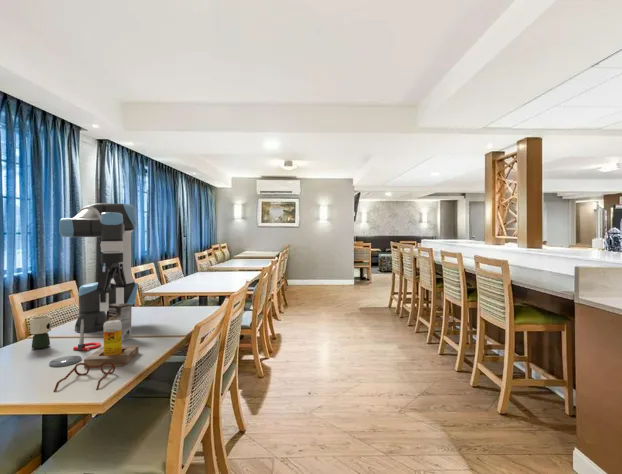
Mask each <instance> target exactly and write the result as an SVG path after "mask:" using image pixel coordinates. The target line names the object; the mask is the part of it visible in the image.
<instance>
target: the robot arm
mask: <svg viewBox="0 0 622 474" xmlns="http://www.w3.org/2000/svg"><path fill="white" fill-rule="evenodd" d="M135 227H138V221H137V214H136V208H135V206H134V204H130V203H129V204H128V203H107V202H106V203H104V202H98V203H93V204H88V205H86V206H83V207H82V208H80V209H79V210H78V211H77V214H76V215H75V216H74V217H72V218H71V217H67V218H66V217H65V218H64V217H63V218H61V219H60V220H59V223H58V232H59V235H60V236H61V237H62V238H69V239H70V238H71V239H72V238H100V244H99V246H100V252H101V254H100V262H101V264H104V265H103V266H100V268H99V269H100V270H99V271H100V272H99V277H98V281H97V282H91V283H86V284H83V285H81V286H80V287H79V288H78V295H77V296H78V316H77V319H76V322H75V324H74V332H76V333H80V328H81V320H82V319H83V320H84V322H83V324H84V333H91V332H97V331H102V330H103V331H104V323H105V322H106V321H107V311H109V304H113V303H116V304H124V303H125V304H132V305H134V304H135V303H136V300H137V293H138V282H136V280H135V278H133V277H132V232H134V230H135Z"/></svg>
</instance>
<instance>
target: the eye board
mask: <svg viewBox="0 0 622 474" xmlns="http://www.w3.org/2000/svg"><path fill="white" fill-rule="evenodd" d="M139 351H140V349H139V345H122V353H121V354H120V355H111V356H104V346H102V347H101V346H100V348H98V349H97V350H96V351H94V352H93V353H91V354H90V355H88V356H87V357H86V358H84V359H83V363H85V364H87V365H89V366H91V365H100V366H101V364H103V363H104V362H112V363H113V364H114V365H115V367H125V366H126V365H127V364H128V363H130V362H131V361H132V360H133V359H134V358H135V357H136V356H137V355H138V354H139ZM108 367H109V368H111V367H112V365H111V364H104V365H103V367H102V368H108ZM83 368H84V369H87V367H86V366H85V365H83Z"/></svg>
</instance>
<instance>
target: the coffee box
mask: <svg viewBox="0 0 622 474" xmlns="http://www.w3.org/2000/svg"><path fill="white" fill-rule="evenodd" d="M132 305H133V304H125V303H124V304H116V303H113V304H109V311H106V315H107V321H109V320H120V321H121V323H122V342H123V341H127V340H129V339H132Z"/></svg>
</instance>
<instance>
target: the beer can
mask: <svg viewBox="0 0 622 474" xmlns="http://www.w3.org/2000/svg"><path fill="white" fill-rule="evenodd" d="M122 342H123V341H122V323H121V321H120V320H109V321H106V322H105V323H104V329H103V347H104V356H111V355H120V354H121V353H122V346H123V345H122V344H123V343H122Z"/></svg>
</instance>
